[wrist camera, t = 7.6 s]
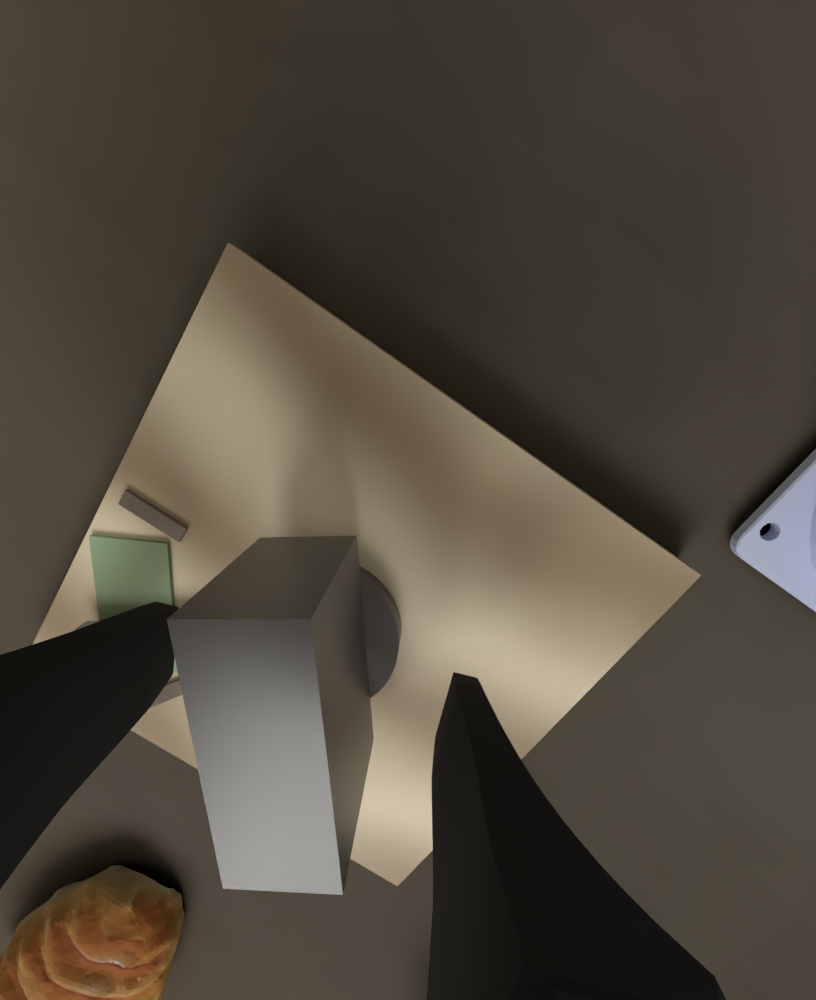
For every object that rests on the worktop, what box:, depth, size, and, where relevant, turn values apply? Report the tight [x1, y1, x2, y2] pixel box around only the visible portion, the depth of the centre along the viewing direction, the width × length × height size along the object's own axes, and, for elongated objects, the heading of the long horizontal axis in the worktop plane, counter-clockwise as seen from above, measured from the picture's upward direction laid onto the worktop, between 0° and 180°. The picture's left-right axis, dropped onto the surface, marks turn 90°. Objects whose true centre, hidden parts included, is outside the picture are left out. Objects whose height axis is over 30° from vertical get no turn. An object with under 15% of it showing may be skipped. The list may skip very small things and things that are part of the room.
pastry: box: [0, 865, 184, 1000], centre depth 18 cm, size 9×7×4 cm
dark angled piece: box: [74, 536, 401, 895], centre depth 11 cm, size 10×6×5 cm, turn 93°
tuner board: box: [33, 242, 701, 886], centre depth 14 cm, size 15×15×1 cm
